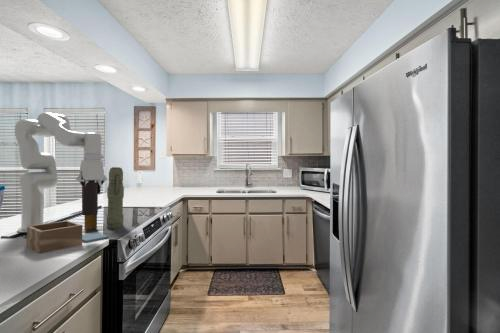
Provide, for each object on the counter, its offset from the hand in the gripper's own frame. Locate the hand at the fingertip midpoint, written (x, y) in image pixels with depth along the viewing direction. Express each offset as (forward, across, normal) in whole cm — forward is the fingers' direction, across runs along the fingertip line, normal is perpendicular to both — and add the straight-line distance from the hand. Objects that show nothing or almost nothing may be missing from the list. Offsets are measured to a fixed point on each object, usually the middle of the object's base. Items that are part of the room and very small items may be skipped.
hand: (91, 193), depth 139 cm
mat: (+22, 0, 0) cm, 22 cm away
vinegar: (+10, +1, 0) cm, 10 cm away
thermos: (+22, -20, -14) cm, 33 cm away
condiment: (+22, -8, -16) cm, 29 cm away
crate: (+22, +16, 0) cm, 27 cm away
